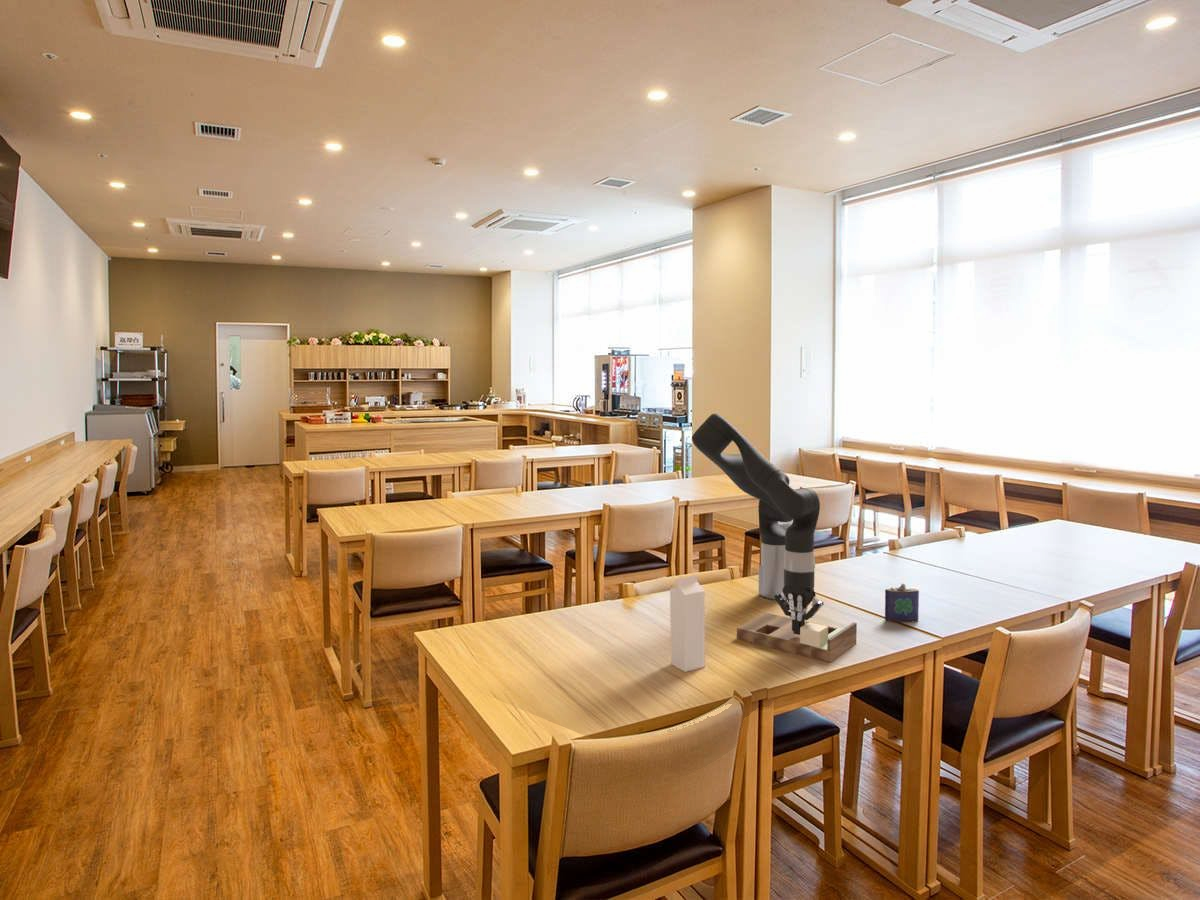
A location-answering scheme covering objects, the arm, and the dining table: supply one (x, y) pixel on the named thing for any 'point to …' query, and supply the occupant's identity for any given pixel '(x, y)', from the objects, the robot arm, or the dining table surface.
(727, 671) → the dining table surface
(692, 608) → the milk
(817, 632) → the block
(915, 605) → the flask
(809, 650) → the board
